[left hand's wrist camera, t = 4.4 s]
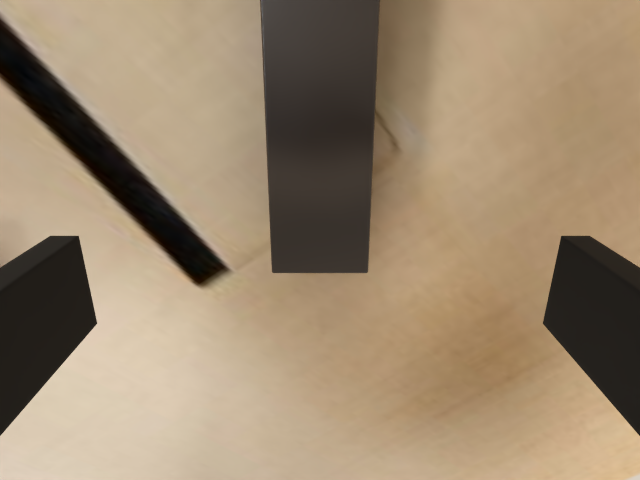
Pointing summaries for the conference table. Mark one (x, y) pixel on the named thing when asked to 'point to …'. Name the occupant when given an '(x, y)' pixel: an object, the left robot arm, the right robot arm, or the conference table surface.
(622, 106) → the conference table surface
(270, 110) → the metal bar
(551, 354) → the conference table surface
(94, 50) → the conference table surface
